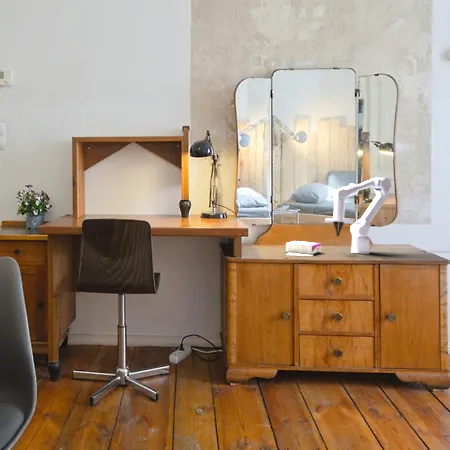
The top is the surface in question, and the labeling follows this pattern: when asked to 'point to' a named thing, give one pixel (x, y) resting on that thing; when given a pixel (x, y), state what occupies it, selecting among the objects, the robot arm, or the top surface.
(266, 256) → the top surface
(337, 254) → the top surface
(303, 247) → the candy bar box
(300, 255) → the mat
